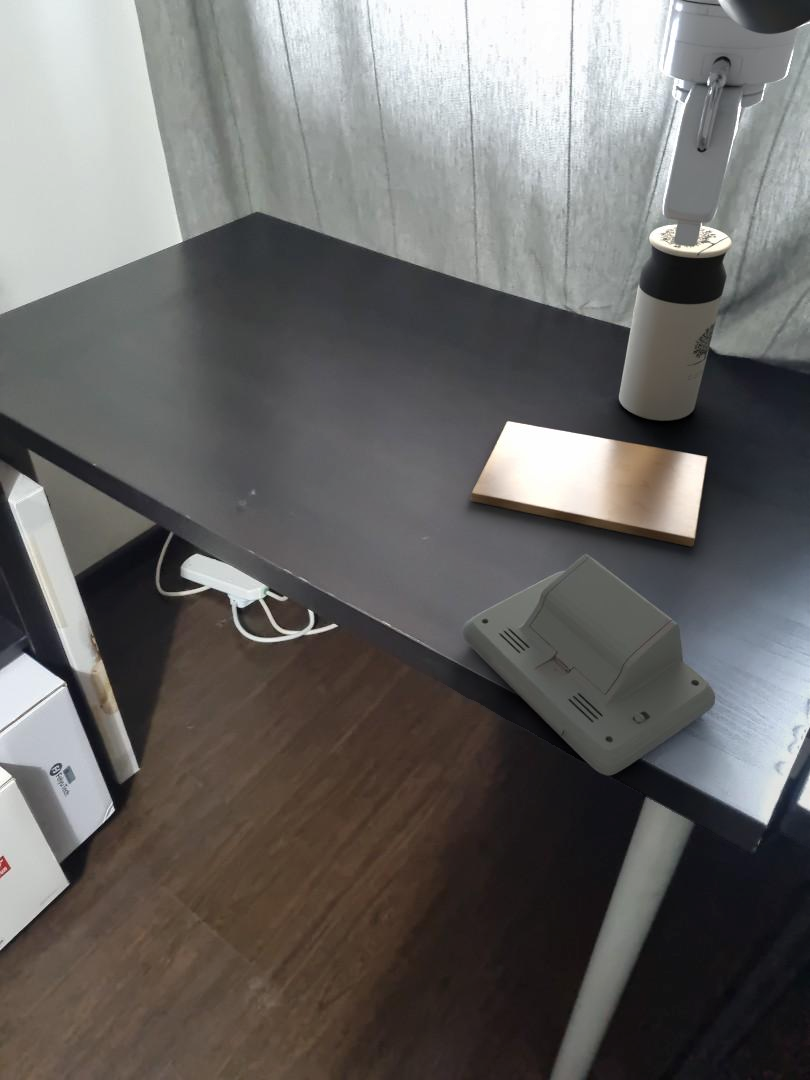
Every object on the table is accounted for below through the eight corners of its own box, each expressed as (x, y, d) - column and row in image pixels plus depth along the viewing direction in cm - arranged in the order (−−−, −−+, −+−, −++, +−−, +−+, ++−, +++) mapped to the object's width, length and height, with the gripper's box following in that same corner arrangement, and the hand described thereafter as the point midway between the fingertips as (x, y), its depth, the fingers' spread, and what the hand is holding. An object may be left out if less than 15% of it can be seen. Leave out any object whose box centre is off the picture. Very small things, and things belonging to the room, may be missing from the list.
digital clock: (560, 568, 68) (463, 651, 66) (557, 514, 60) (447, 606, 59) (715, 712, 60) (610, 810, 59) (735, 672, 53) (614, 783, 51)
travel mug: (603, 400, 90) (629, 235, 78) (651, 377, 94) (684, 216, 82) (660, 431, 85) (697, 261, 73) (709, 406, 89) (752, 240, 77)
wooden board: (705, 464, 81) (707, 456, 80) (692, 547, 71) (695, 538, 71) (506, 428, 86) (507, 420, 85) (470, 501, 77) (471, 492, 76)
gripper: (770, 81, 50) (716, 296, 59) (778, 22, 65) (734, 203, 74) (664, 74, 52) (627, 285, 61) (695, 18, 66) (661, 195, 75)
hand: (686, 239), depth 67 cm, fingers closed
